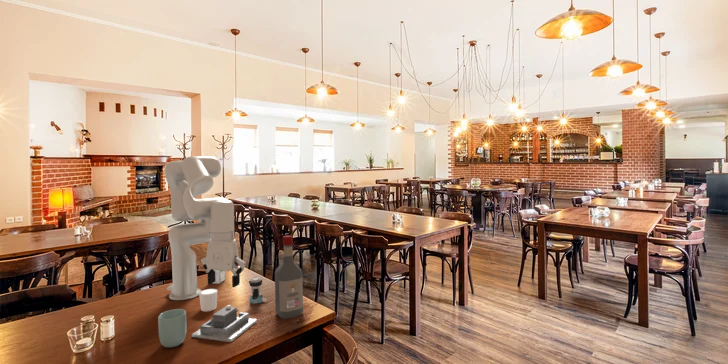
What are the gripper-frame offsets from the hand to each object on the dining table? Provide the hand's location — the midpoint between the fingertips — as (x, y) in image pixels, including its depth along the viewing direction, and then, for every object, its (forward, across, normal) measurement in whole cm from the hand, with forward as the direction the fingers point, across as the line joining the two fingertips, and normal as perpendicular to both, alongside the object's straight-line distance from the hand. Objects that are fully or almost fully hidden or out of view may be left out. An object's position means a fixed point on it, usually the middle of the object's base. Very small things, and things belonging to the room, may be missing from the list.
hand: (223, 284), depth 121 cm
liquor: (+16, +17, +16) cm, 28 cm away
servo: (+15, +1, -1) cm, 15 cm away
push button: (+16, -1, +23) cm, 29 cm away
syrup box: (+18, -35, +42) cm, 58 cm away
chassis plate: (+16, +1, -1) cm, 16 cm away
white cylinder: (+17, -17, +13) cm, 27 cm away
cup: (+16, -9, -14) cm, 23 cm away
